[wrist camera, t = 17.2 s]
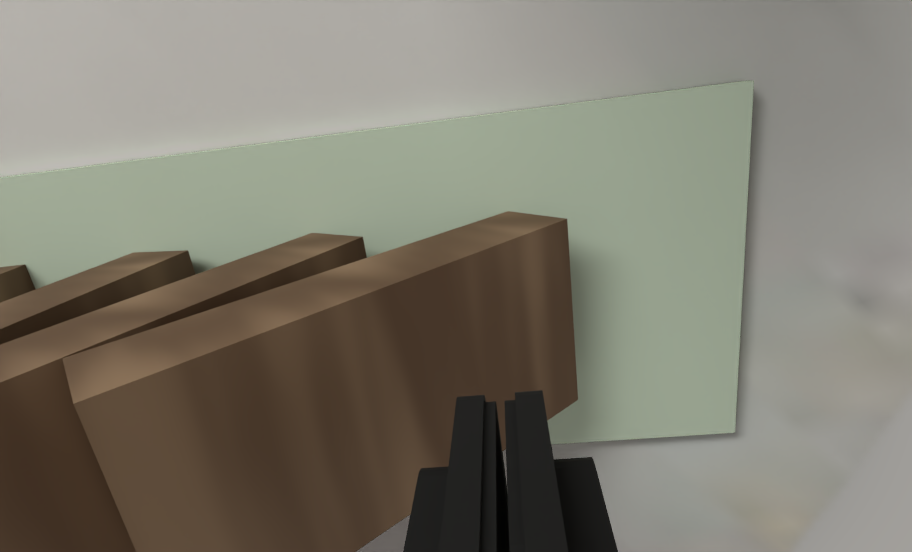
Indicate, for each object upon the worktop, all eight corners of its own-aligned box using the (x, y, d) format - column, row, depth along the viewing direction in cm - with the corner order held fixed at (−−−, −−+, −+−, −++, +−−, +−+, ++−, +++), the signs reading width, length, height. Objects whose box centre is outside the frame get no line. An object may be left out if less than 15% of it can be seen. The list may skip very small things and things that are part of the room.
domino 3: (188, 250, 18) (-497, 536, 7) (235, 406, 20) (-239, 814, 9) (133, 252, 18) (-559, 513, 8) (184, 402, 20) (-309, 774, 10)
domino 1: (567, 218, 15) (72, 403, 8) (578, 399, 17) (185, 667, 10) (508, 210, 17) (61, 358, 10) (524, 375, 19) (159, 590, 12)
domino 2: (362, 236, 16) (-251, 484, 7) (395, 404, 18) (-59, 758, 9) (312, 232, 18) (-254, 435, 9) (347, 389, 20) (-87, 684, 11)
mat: (746, 80, 16) (754, 80, 15) (729, 424, 20) (735, 432, 19) (-332, 220, 20) (-352, 223, 19) (-166, 483, 24) (-179, 491, 23)
